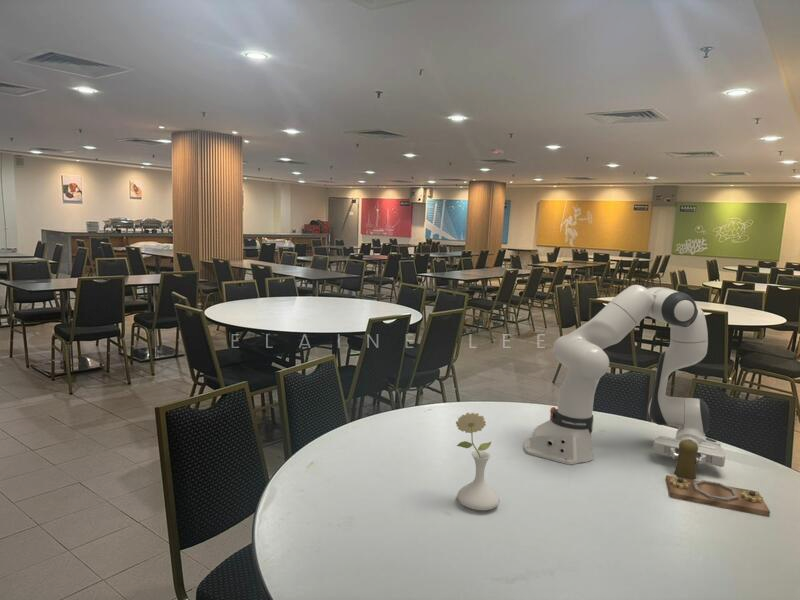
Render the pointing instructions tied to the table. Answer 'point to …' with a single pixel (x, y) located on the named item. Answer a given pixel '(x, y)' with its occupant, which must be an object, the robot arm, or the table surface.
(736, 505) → the gear board
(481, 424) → the flower in vase
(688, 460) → the cork
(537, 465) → the table surface
